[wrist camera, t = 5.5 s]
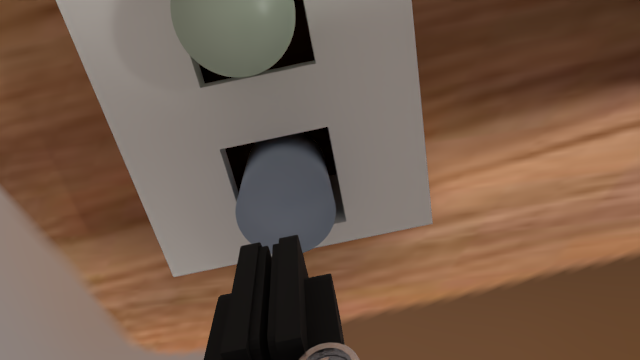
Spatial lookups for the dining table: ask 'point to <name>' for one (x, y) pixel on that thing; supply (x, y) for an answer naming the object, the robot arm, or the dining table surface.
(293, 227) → the slate button
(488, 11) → the dining table surface
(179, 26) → the sage button
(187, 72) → the console
